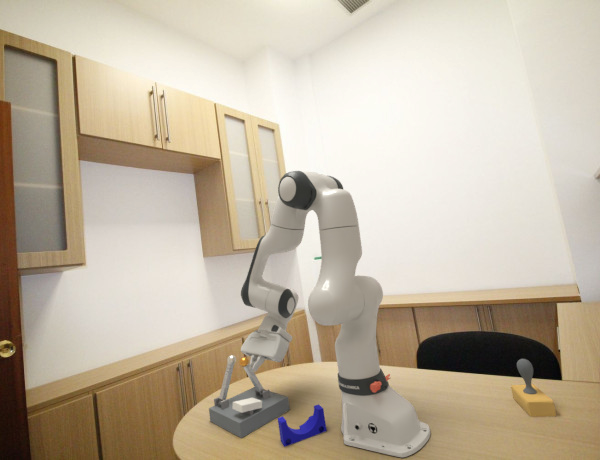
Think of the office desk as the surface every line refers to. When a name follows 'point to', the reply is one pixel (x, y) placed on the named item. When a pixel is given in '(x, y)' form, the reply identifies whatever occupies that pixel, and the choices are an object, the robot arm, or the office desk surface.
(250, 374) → the lever orange
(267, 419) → the panel
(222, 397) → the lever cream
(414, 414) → the robot arm
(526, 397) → the rubber stamp
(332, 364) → the office desk surface
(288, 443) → the cable clip
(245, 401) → the white rectangular block
